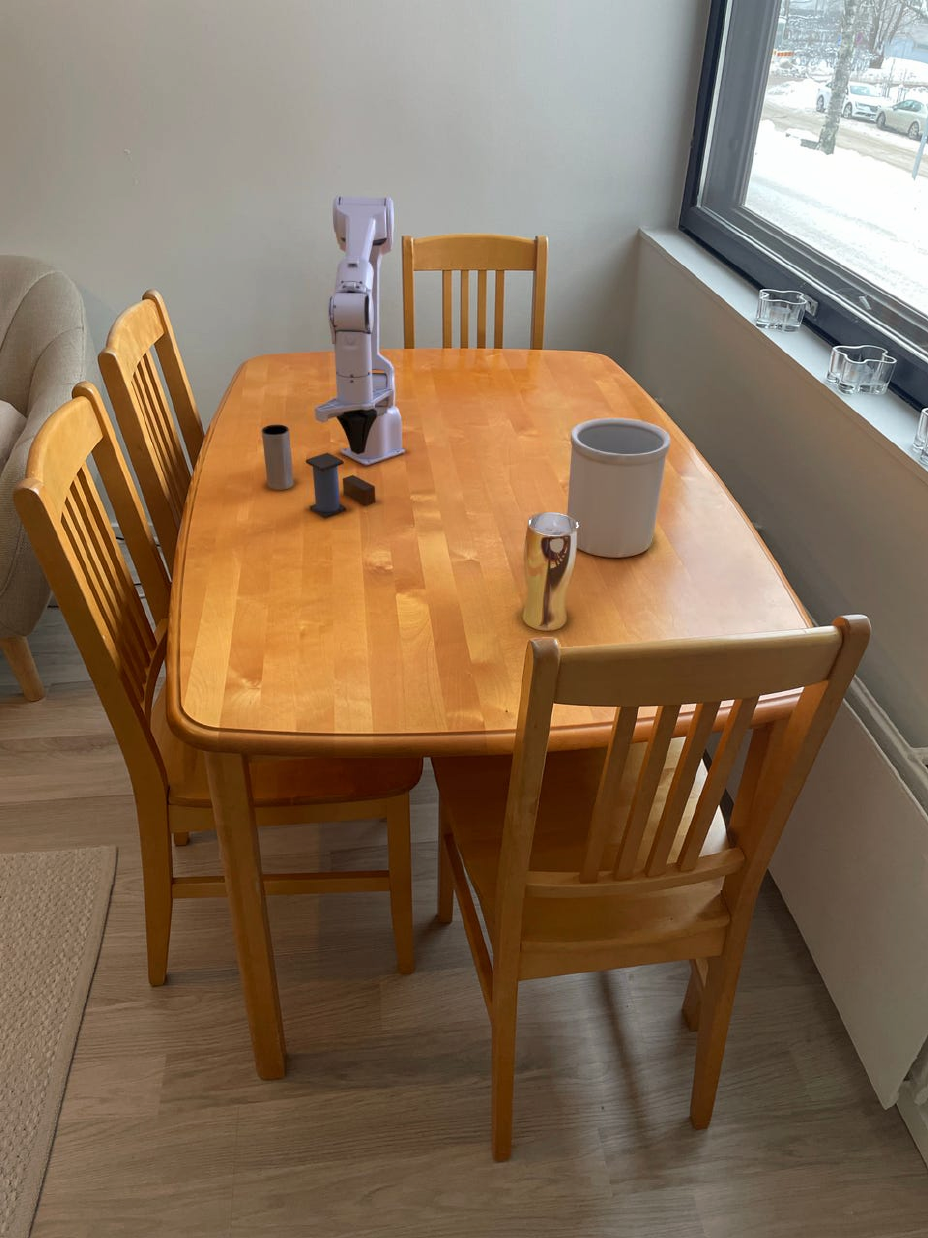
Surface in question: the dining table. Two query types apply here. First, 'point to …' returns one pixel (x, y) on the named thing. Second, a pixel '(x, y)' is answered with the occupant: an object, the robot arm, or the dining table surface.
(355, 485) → the block
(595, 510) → the utensil holder
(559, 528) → the beer glass
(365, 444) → the robot arm
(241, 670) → the dining table surface
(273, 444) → the grey hollow cylinder
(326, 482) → the spool
